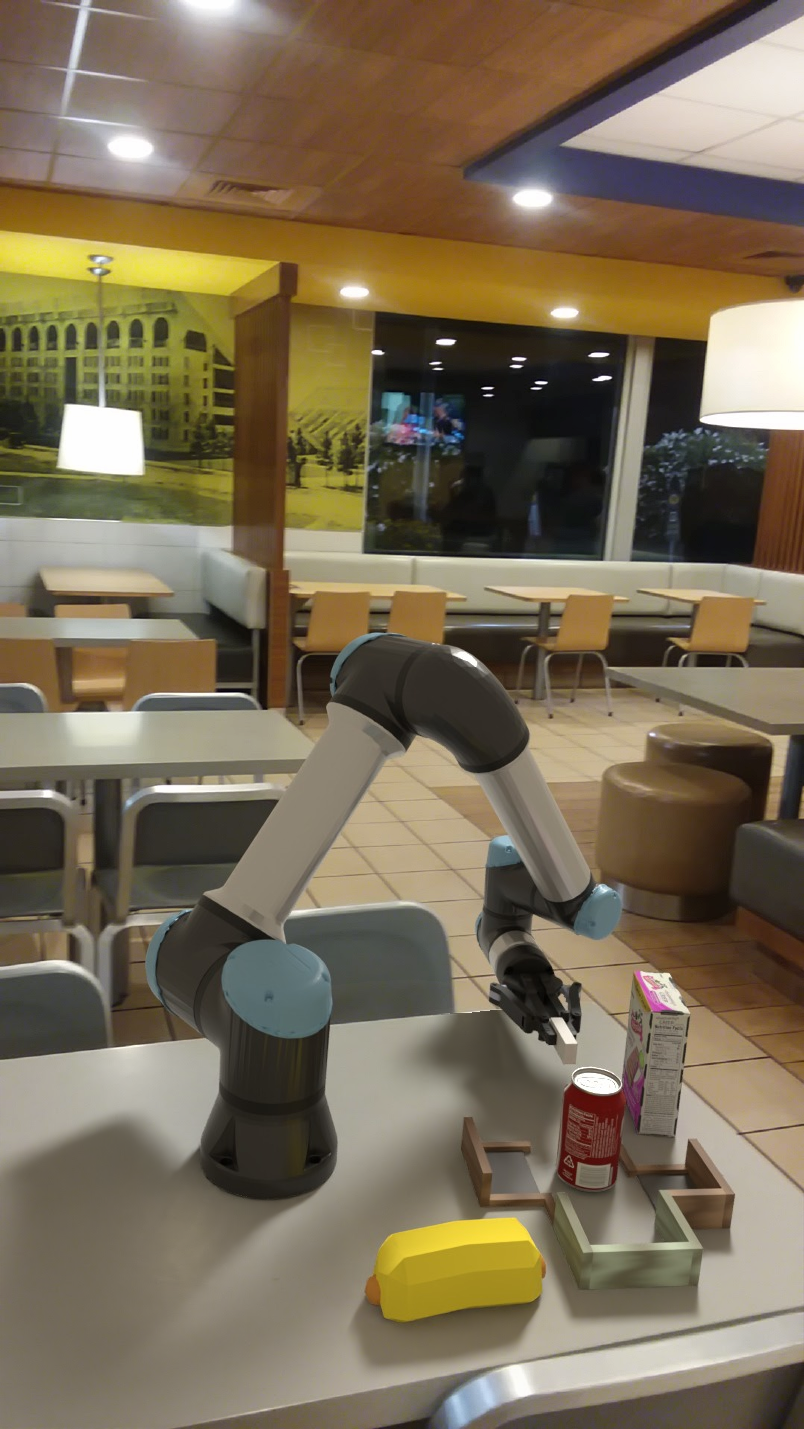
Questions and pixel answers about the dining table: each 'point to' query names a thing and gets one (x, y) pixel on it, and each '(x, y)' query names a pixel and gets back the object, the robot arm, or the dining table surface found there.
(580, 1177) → the soda can
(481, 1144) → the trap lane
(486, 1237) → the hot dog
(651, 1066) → the candy bar box
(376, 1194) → the dining table surface
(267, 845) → the robot arm
